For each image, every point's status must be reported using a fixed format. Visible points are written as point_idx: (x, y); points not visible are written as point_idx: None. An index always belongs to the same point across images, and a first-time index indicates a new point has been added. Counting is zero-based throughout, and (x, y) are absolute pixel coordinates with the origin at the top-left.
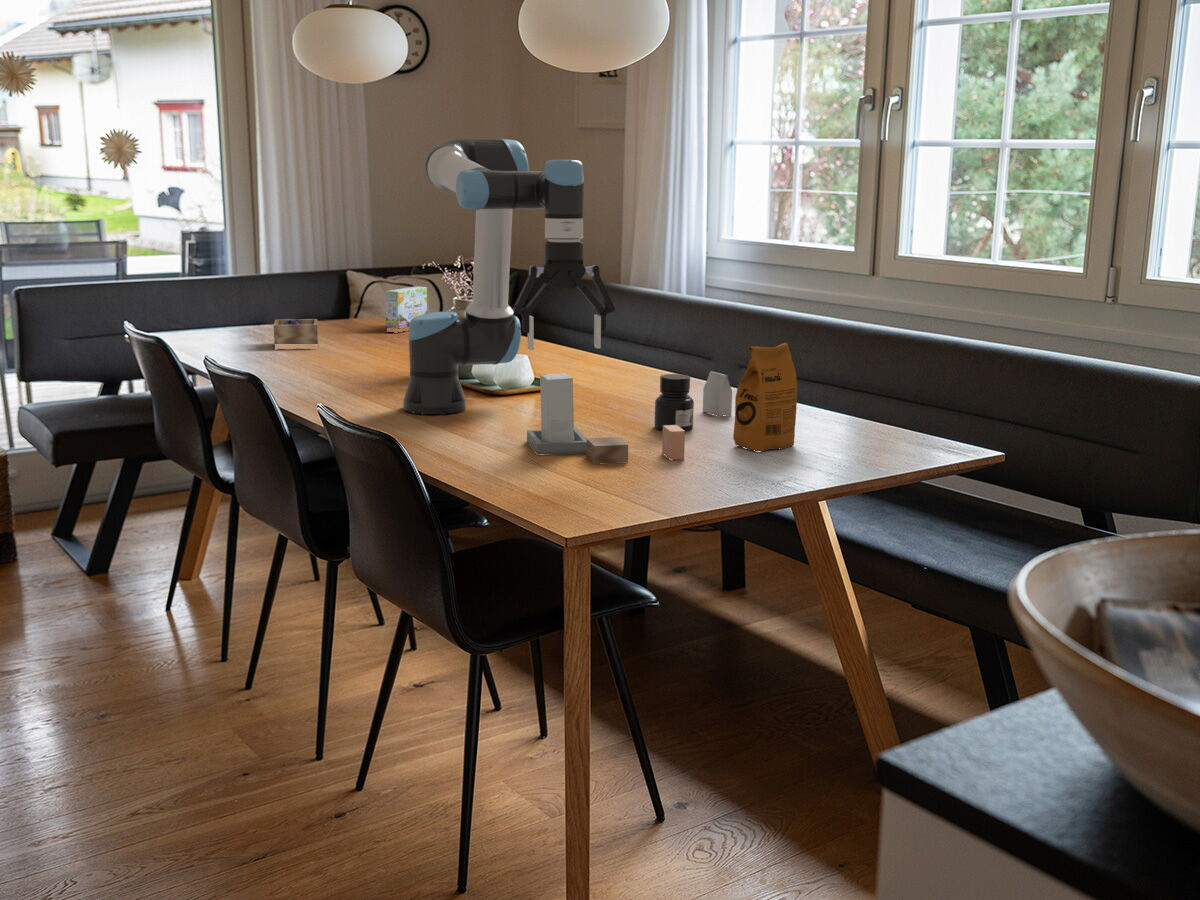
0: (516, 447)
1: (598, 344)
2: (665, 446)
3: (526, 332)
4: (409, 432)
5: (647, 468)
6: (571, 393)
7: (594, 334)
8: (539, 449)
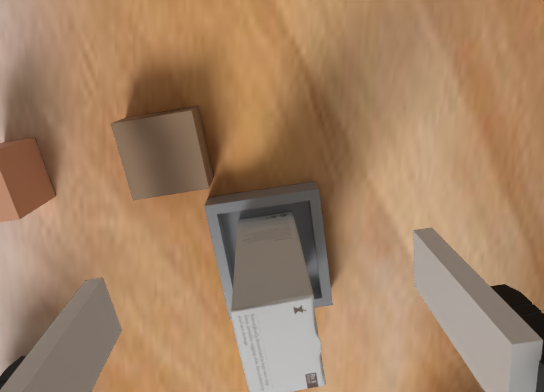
0: (352, 248)
1: (88, 290)
2: (35, 179)
3: (493, 287)
4: None
5: (80, 65)
6: (237, 282)
7: (96, 369)
8: (312, 185)
